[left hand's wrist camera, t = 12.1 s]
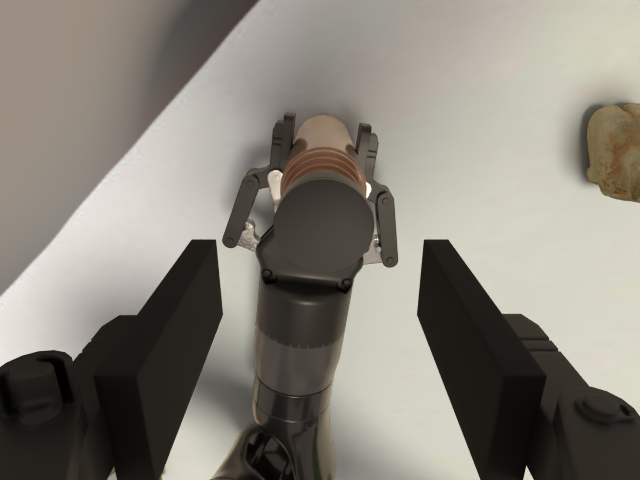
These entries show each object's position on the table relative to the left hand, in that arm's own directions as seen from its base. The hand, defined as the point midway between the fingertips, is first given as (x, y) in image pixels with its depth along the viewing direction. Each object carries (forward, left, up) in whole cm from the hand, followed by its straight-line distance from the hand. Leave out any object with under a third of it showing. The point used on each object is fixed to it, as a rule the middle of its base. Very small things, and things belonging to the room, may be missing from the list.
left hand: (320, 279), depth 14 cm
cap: (0, 0, -5) cm, 5 cm away
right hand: (-2, -2, -19) cm, 20 cm away
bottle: (0, 0, -26) cm, 26 cm away
